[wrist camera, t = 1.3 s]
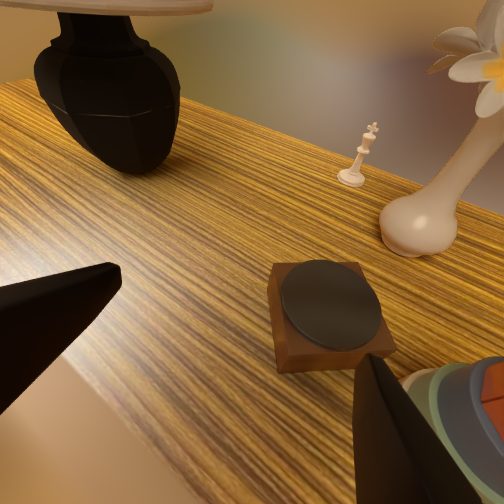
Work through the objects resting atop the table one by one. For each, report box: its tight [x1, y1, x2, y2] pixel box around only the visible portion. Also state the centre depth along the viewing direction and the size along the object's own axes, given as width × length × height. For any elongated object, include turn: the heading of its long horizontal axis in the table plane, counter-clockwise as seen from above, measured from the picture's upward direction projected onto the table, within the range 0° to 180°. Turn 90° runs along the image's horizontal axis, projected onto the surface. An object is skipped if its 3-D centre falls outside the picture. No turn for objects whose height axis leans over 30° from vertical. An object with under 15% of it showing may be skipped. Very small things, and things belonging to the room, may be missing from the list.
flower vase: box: [379, 0, 504, 258], centre depth 26 cm, size 13×18×25 cm
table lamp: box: [0, 0, 213, 173], centre depth 27 cm, size 27×27×40 cm
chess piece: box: [337, 122, 379, 187], centre depth 42 cm, size 5×5×10 cm
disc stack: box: [398, 356, 504, 504], centre depth 17 cm, size 9×9×9 cm
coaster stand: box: [267, 260, 398, 373], centre depth 24 cm, size 9×9×6 cm
